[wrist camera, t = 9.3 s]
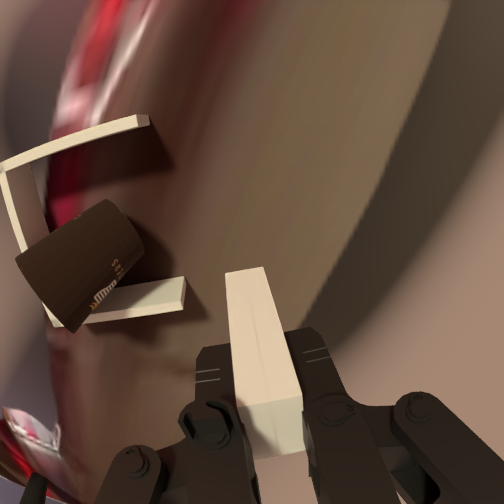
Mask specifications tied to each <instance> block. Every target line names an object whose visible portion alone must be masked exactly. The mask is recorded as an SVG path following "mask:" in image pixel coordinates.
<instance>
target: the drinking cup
mask: <svg viewBox="0 0 504 504" xmlns="http://www.w3.org/2000/svg"><path fill="white" fill-rule="evenodd" d="M47 484H48V480H47V479H46V478H45V477H43V476H41V475H39V474H37V473H32V474H31V476H30V478H29V481H28V483H27V486H26V488H25V491H24V493H23V496H22V498H21V501H20V504H45V499H46V491H47Z"/></svg>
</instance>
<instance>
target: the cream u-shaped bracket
mask: <svg viewBox="0 0 504 504" xmlns="http://www.w3.org/2000/svg"><path fill="white" fill-rule="evenodd" d="M148 125H150V122H149V117H148V115H132V116H129V117H125V118H121V119H118V120H114V121H111V122H108V123H104V124H101V125H98V126H95V127H91V128H88V129H85V130H82V131H79V132H76V133H73V134H71V135H68V136H65V137H62V138H59V139H57V140H54V141H51V142H49V143H46V144H43V145H41V146H38V147H36V148H33V149H31V150H29V151H27V152H24V153H21V154H19V155H17V156H15V157H12V158H10V159H8V160H6V161H3V162H1V163H0V184H1V188H2V192H3V196H4V199H5V203H6V206H7V210H8V213H9V216H10V220H11V223H12V226H13V229H14V232H15V235H16V238H17V241H18V244H19V247H20V249H21V252H22V253H23V252H24V251H25V250H27V249H28V248H30V247H31V246H33V245H34V244H35V243H37V242H38V241H40V240H41V239H43V238H44V237H46V236H47V235H49V234H50V233H49V230H48V226H47V223H46V220H45V217H44V214H43V210H42V207H41V203H40V200H39V196H38V192H37V189H36V185H35V181H34V177H33V173H32V168H31V164H30V163H31V162H33V161H36V160H38V159H41V158H44V157H47V156H49V155H52V154H55V153H58V152H60V151H63V150H66V149H69V148H72V147H75V146H78V145H81V144H84V143H87V142H91V141H94V140H97V139H100V138H104V137H107V136H111V135H114V134H118V133H121V132H125V131H129V130H132V129H136V128H140V127H144V126H148ZM185 290H186V281H185V278H184V276H181V277H176V278H170V279H164V280H159V281H153V282H147V283H141V284H135V285H129V286H124V287H118V288H112V289H111V291H110V292H109V293H108V294H107V295H106V296H105V297H104V299H103V300H102V301H101V302H100V303H99V304H98V306H97V307H96V308H95V309H94V310H93V312H92V313H91V314H90V315H89V316H88V317H87V319H86V320H85V321H84V322H83V323H82V324H86V323H94V322H102V321H109V320H117V319H124V318H131V317H138V316H145V315H151V314H158V313H165V312H171V311H177V310H183V306H184V298H185ZM42 303H43V302H42ZM43 305H44V307H45V309H46V311H47V314H48V316H49V318H50V320H51V322H52V324H53V326H54V327H61V326H63V325H62V324H61V323H60V322H59V320H58V319H57V318H56V317H55V316H54V315H53V314H52V313H51V312H50V310H49V309H48V308H47V307H46V306H45V304H44V303H43Z"/></svg>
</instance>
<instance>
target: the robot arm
mask: <svg viewBox="0 0 504 504" xmlns="http://www.w3.org/2000/svg"><path fill="white" fill-rule="evenodd" d="M225 279H226V292H227V305H228V317H229V329H230V340H231V343H227V344H221V345H215V346H208V347H203V348H202V350H201V352H200V353H199V355H198V357H197V359H196V385H195V400H194V401H193V402H191V403H190V404H188V405H186V407H185V408H184V409H183V410H182V411H181V413H180V415H179V419H178V423H179V425H180V427H181V428H182V430H183V432H184V434H185V436H186V438H184V439H183V440H182V441H180V442H178V443H176V444H174V445H171V446H169V447H166V448H163V449H160V450H157V451H154V450H153V449H152V448H150V447H148V446H145V445H132V446H129V447H126V448H124V449H123V450H121V451H120V452H119V453H118V454H117V455H116V457H115V458H114V459H113V461H112V463H111V466H110V468H109V470H108V472H107V475H106V477H105V479H104V482H103V484H102V486H101V488H100V491H99V493H98V495H97V498H96V500H95V502H94V504H261V497H260V492H259V485H258V478H257V474H256V472H255V467H254V461H253V459H254V460H255V459H262V458H268V457H274V456H279V455H285V454H289V453H295V452H299V451H304V450H305V448H306V452H307V456H308V461H309V477H311V478H312V482H313V485H314V490H315V493H316V497H317V501H318V504H401V502H400V500H399V497H398V495H397V492H398V493H399V495H400V496H401V497H402V498H403V499H404V501H405V502H406V503H407V504H504V461H503V460H502V459H501V458H500V457H499V456H498V455H497V454H496V453H495V452H494V451H493V450H492V449H491V448H490V447H488V446H487V445H486V444H485V443H484V442H483V441H482V440H481V439H480V438H479V437H478V436H477V435H476V434H475V433H474V432H473V431H472V430H471V429H470V428H469V427H468V426H466V425H465V424H464V423H463V422H462V421H461V420H460V419H459V418H458V417H457V416H456V415H455V414H454V413H453V412H452V411H450V410H449V409H448V408H447V407H446V406H445V405H444V404H443V403H442V402H441V401H440V400H439V399H438V398H436V397H434V396H433V395H431V394H429V393H425V392H411V393H408V394H406V395H404V396H402V397H401V398H400V399H399V400H398V401H397V402H396V405H392V406H367V405H363V404H360V403H358V402H356V401H354V400H353V399H352V398H350V396H348V394H347V393H346V391H345V388H344V386H343V384H342V381H341V379H340V377H339V375H338V372H337V370H336V368H335V366H334V363H333V361H332V359H331V358H330V354H329V353H328V350H327V349H326V346H325V343H324V341H323V339H322V337H321V335H320V334H319V333H317V332H316V331H315V330H314V329H312V328H311V327H307V328H302V329H298V330H293V331H288V332H283V330H282V327H281V324H280V320H279V317H278V314H277V311H276V307H275V304H274V301H273V298H272V295H271V291H270V288H269V285H268V282H267V278H266V275H265V272H264V269H263V267H258V268H253V269H247V270H241V271H236V272H230V273H225ZM396 491H397V492H396Z"/></svg>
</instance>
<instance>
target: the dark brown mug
mask: <svg viewBox="0 0 504 504" xmlns="http://www.w3.org/2000/svg"><path fill="white" fill-rule="evenodd" d="M144 252H145V249H144V245H143V243H142V240H141V238H140V237H139V235H138V233H137V231H136V230H135V228H134V227H133V225H132V224H131V222H130V221H129V220H128V218H127V217H126V216H125V215H124V213H123V212H122V211H121V210H120V209H119V208H118V207H117V206H116V205H115V204H114V203H112V202H111V201H109V200H107V199H105V200H103V201H101V202H100V203H98V204H96V205H95V206H93V207H91V208H90V209H88V210H86V211H85V212H83V213H81V214H80V215H78V216H77V217H75V218H73V219H72V220H70V221H69V222H67V223H66V224H64V225H62V226H61V227H59V228H58V229H56V230H55V231H53V232H52V233H50V234H49V235H47V236H46V237H44V238H43V239H41V240H40V241H38V242H37V243H35V244H34V245H33V246H31V247H30V248H28V249H27V250H25V251H24V252H23V253H21V254H20V255H18V256H17V257H16V258H15V260H16V263H17V265H18V267H19V269H20V270H21V272H22V274H23V275H24V277H25V279H26V280H27V281H28V283H29V284H30V286H31V287H32V289H33V290H34V292H35V293H36V294H37V296H38V297H39V298H40V299H41V301H42V302H43V303H44V304H45V306H46V307H47V308H48V309H49V310H50V312H51V313H52V314H53V315H54V316H55V317H56V318H57V319H58V320H59V322H60V323H61V324H62V325H63V326H64V327H66V328H67V329H68V330H69V331H70V332H71V333H73V334H74V333H75V332H76V331H77V330H78V328H79V327H80V326H81V325H82V323H83V322H84V321H85V320H86V319H87V317H88V316H89V315H90V314H91V313H92V312H93V310H94V309H95V308H96V307H97V306H98V304H99V303H100V302H101V301H102V300H103V299H104V297H105V296H106V295H107V294H108V293H109V292H110V291H111V289H112V288H113V287H114V286H115V285H116V284H117V283H118V281H119V280H120V279H121V278H122V277H123V276H124V275H125V274H126V273H127V271H128V270H129V269H130V268H131V267H132V266H133V265H134V264H135V263H136V261H137V260H138V259H139V258H140V257H141V256H142V255H143V254H144Z"/></svg>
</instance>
